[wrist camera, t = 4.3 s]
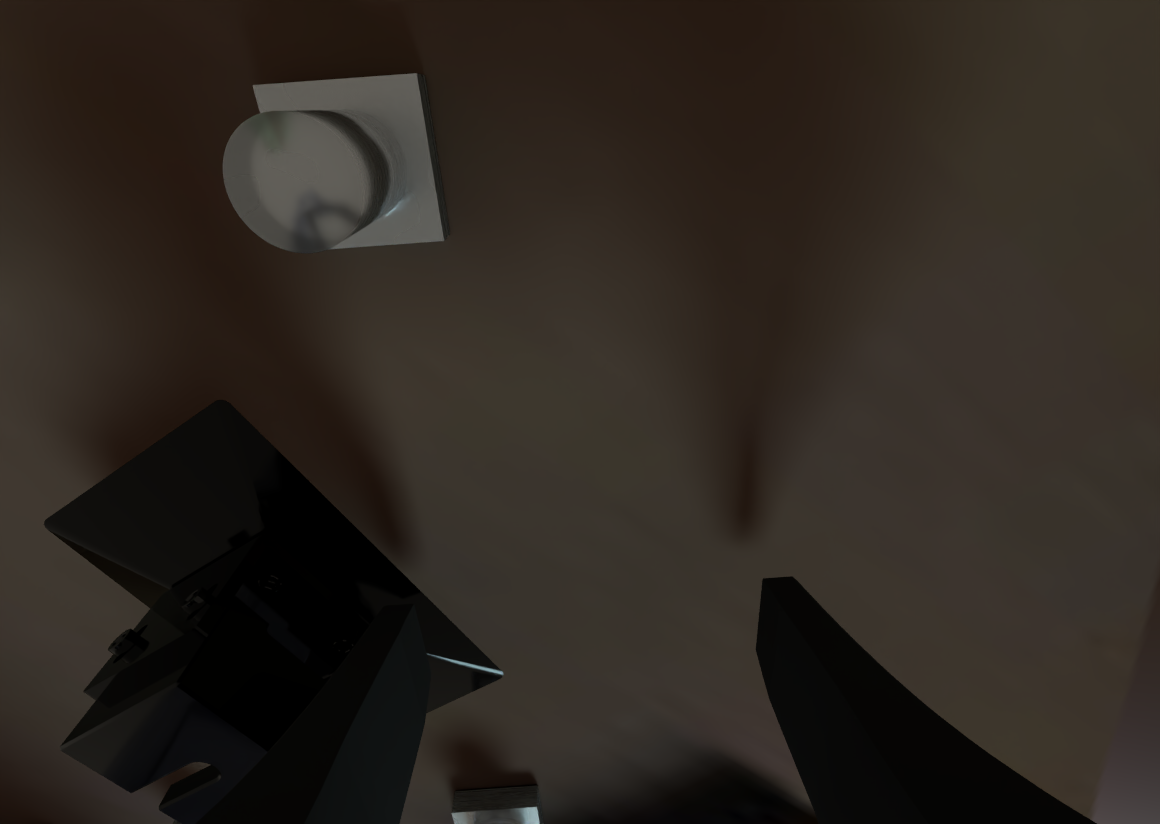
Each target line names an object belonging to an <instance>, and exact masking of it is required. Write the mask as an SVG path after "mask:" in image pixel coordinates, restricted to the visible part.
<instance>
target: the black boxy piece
mask: <svg viewBox="0 0 1160 824" xmlns="http://www.w3.org/2000/svg"><path fill="white" fill-rule="evenodd" d="M44 525H45V527H46V528H47V529H48V530H49V531H50V532H51V533H53V534H54V535H55V536H57V537H58V538H59V539H61V540H62V541H63V542H64V543H66V544H67V545H68V546H70V547H71V548H72V549H74V550H75V551H76V552H77V553H79V554H80V555H81V556H83V557H84V558H85V559H87V560H88V561H89V562H91V563H92V564H93V565H94V566H96V567H97V568H98V569H100V570H101V571H102V572H104V573H105V574H106V575H107V576H109V577H110V578H111V579H113V580H114V581H115V582H117V583H118V584H119V585H121V586H122V587H123V588H124V589H126V590H127V591H128V592H130V593H131V594H132V595H134V596H135V597H136V598H137V599H139V600H140V601H141V602H143V603H144V604H145V605H147V606H148V607H149V608H150V610H149V611H148V612H147V614H146V615H145V616H144V617H143V618H142V620H141V621H140V622H139V623H138V625H137V626H136V627H135V628H134V630H132V629H128V630H126V631H125V632H123V633H122V634H121V635H120V636H119V637H117V638H116V639H115V640H114V641H113V643H112V644H111V645H110V646H109V648H108V651H110V652H111V653H113V655H112V657H111V658H110V659H109V660H108V661H107V663H106V664H105V665H104V666H103V668H102V669H101V670H100V671H99V672H98V674H97V675H96V676H95V677H94V679H93V680H92V681H91V682H90V684H89V685H88V686H87V687H86V688H85V690H84V691H83V692H84V693H86V694H87V695H89V696H91V697H92V698H94V699H95V700H96V701H95V702H94V704H93V705H92V706H91V708H90V709H89V710H88V711H87V713H86V714H85V715H84V717H83V718H82V719H81V720H80V722H79V723H78V724H77V726H76V727H75V728H74V729H73V731H72V732H71V733H70V735H69V736H68V737H67V738H66V740H65V741H64V742H63V743H62V745H61V746H60V750H61V751H62V752H64V753H66V754H67V755H69V756H71V757H72V758H74V759H76V760H77V761H79V762H81V763H82V764H84V765H86V766H87V767H89V768H91V769H92V770H94V771H96V772H97V773H99V774H100V775H102V776H104V777H105V778H107V779H109V780H110V781H112V782H114V783H115V784H117V785H119V786H120V787H122V788H124V789H125V790H127V791H129V792H130V793H132V792H135V791H137V790H139V789H141V788H143V787H145V786H147V785H149V784H151V783H153V782H155V781H156V780H158V779H160V778H162V777H164V776H166V775H168V774H170V773H172V772H174V771H176V770H178V769H180V768H182V767H184V766H186V765H188V764H190V763H192V762H204V763H208V764H211V765H210V766H208V767H206V768H204V769H202V770H200V771H198V772H196V773H194V774H192V775H190V776H188V777H186V778H184V779H182V780H180V781H178V782H176V783H174V784H172V785H171V786H170V788H169V790H168V791H167V793H166V795H165V797H164V798H163V800H162V802H161V803H160V805H159V810H160V811H162V812H163V813H165V814H167V815H168V816H170V817H172V818H173V819H175V820H176V821H178V822H180V823H181V824H196V823H197V822H198V821H199V820H200V819H201V818H202V817H203V816H204V815H205V814H206V813H207V812H209V811H210V810H211V809H212V808H213V807H214V806H215V805H216V804H217V803H218V802H219V801H220V800H221V799H222V798H223V797H224V796H225V795H226V794H227V793H228V792H229V791H230V790H231V789H232V788H233V787H234V786H235V785H236V784H237V783H238V782H239V781H240V780H241V779H242V778H243V777H244V776H245V775H246V774H247V773H248V772H249V771H250V770H251V769H252V768H253V767H254V766H255V765H256V764H257V763H258V762H259V761H260V760H261V758H262V757H263V756H264V755H265V754H266V753H267V752H268V751H269V750H270V749H271V748H272V746H273V745H274V744H275V743H276V742H277V741H278V740H279V739H280V738H281V736H282V735H283V734H284V733H285V732H286V731H287V729H288V728H289V727H290V726H291V725H292V724H293V722H294V721H295V720H296V719H297V718H298V716H299V715H300V714H301V713H302V712H303V711H304V709H305V708H306V707H307V706H308V705H309V704H310V702H311V701H312V700H313V699H314V697H315V696H316V695H317V694H318V692H319V691H320V690H321V689H322V687H323V686H324V685H325V684H326V682H327V681H328V680H329V678H330V677H331V676H332V675H333V673H334V672H335V671H336V669H337V668H338V667H339V666H340V664H341V663H342V662H343V660H344V659H345V658H346V656H347V655H348V654H349V652H350V651H351V650H352V648H353V647H354V646H355V644H356V643H357V642H358V640H359V639H360V637H361V636H362V635H363V633H364V632H365V631H366V629H367V628H368V626H369V625H370V624H371V622H372V621H373V620H374V618H375V617H376V615H377V614H378V613H379V611H380V610H381V609H382V608H383V607H384V606H388V605H402V604H414V606H415V610H416V614H417V618H418V622H419V626H420V630H421V634H422V638H423V642H424V646H425V650H426V654H427V658H428V662H429V666H430V670H431V680H430V688H429V696H428V703H427V710H426V713H428V712H430V711H432V710H434V709H436V708H439V707H441V706H443V705H445V704H447V703H449V702H451V701H454V700H456V699H458V698H460V697H462V696H464V695H466V694H469V693H471V692H473V691H475V690H477V689H479V688H481V687H483V686H486V685H488V684H490V683H492V682H494V681H496V680H498V679H500V678H502V676H503V672H502V671H501V670H500V669H499V668H498V667H497V666H496V665H495V664H494V663H493V662H492V661H491V660H490V659H489V658H488V657H487V656H486V655H485V654H484V653H483V652H482V651H481V650H480V649H479V648H478V647H477V646H476V645H475V644H474V643H473V642H472V641H471V640H470V639H469V638H468V637H466V636H465V635H464V634H463V633H462V632H461V631H460V630H459V629H458V628H457V627H456V626H455V625H454V624H453V623H452V622H451V621H450V620H449V619H448V618H447V617H446V616H445V615H444V614H443V613H442V612H441V611H440V610H439V609H438V608H437V607H436V606H435V605H434V604H433V603H432V602H431V601H430V600H429V599H428V598H427V597H426V596H425V595H424V594H423V593H422V592H421V591H420V590H419V589H418V588H417V587H416V586H415V585H414V584H413V583H412V582H411V581H410V580H409V579H408V578H407V577H406V576H405V575H404V574H403V573H402V572H401V571H399V570H398V569H397V568H396V567H395V566H394V565H393V564H392V563H391V562H390V561H389V560H388V559H387V558H386V557H385V556H384V555H383V554H382V553H381V552H380V551H379V550H378V549H377V548H376V547H375V546H374V545H373V544H372V543H371V542H370V541H369V540H368V539H367V538H366V537H365V536H364V535H363V534H362V533H361V532H360V531H359V530H358V529H357V528H356V527H355V526H354V525H353V524H352V523H351V522H350V521H349V520H348V519H347V518H346V517H345V516H344V515H343V514H342V513H341V512H340V511H339V510H338V509H337V508H336V507H335V506H334V505H332V504H331V503H330V502H329V501H328V500H327V499H326V498H325V497H324V496H323V495H322V494H321V493H320V492H319V491H318V490H317V489H316V488H315V487H314V486H313V485H312V484H311V483H310V482H309V481H308V480H307V479H306V478H305V477H304V476H303V475H302V474H301V473H300V472H299V471H298V470H297V469H296V468H295V467H294V466H293V465H292V464H291V463H290V462H289V461H288V460H287V459H286V458H285V457H284V456H283V455H282V454H281V453H280V452H279V451H278V450H277V449H276V448H275V447H274V446H273V445H272V444H271V443H270V442H269V441H268V440H267V439H265V438H264V437H263V436H262V435H261V434H260V433H259V432H258V431H257V430H256V429H255V428H254V427H253V426H252V425H251V424H250V423H249V422H248V421H247V420H246V419H245V418H244V417H243V416H242V415H241V414H240V413H239V412H238V411H237V410H236V409H235V408H234V407H233V406H232V405H231V404H230V403H228V402H227V401H224V400H217V401H215V402H214V403H212V404H211V405H209V406H208V407H206V408H205V409H204V410H202V411H201V412H199V413H198V414H196V415H195V416H194V417H192V418H191V419H189V420H188V421H186V422H185V423H183V424H182V425H181V426H179V427H178V428H176V429H175V430H173V431H172V432H171V433H169V434H168V435H166V436H165V437H163V438H162V439H161V440H159V441H158V442H156V443H155V444H153V445H152V446H151V447H149V448H148V449H146V450H145V451H143V452H142V453H141V454H139V455H138V456H136V457H135V458H133V459H132V460H131V461H129V462H128V463H126V464H125V465H123V466H122V467H120V468H119V469H118V470H116V471H115V472H113V473H112V474H110V475H109V476H108V477H106V478H105V479H103V480H102V481H100V482H99V483H98V484H96V485H95V486H93V487H92V488H90V489H89V490H88V491H86V492H85V493H83V494H82V495H80V496H79V497H78V498H76V499H75V500H73V501H72V502H70V503H69V504H67V505H66V506H65V507H63V508H62V509H60V510H59V511H57V512H56V513H55V514H53V515H52V516H50V517H49V518H47V519H46V520H45V522H44Z"/></svg>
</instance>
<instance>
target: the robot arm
mask: <svg viewBox="0 0 1160 824" xmlns="http://www.w3.org/2000/svg"><path fill="white" fill-rule="evenodd" d="M756 652H757V656H758V660H759V663H760V667H761V671H762V675H763V678H764V682H765V685H766V689H767V692H768V696H769V699H770V702H771V704H772V707H773V709H774V712H775V714H776V717H777V719H778V722H779V725H780V727H781V730H782V732H783V735H784V737H785V740H786V742H787V744H788V747H789V749H790V752H791V754H792V757H793V759H794V762H795V764H796V767H797V769H798V772H799V774H800V777H801V779H802V782H803V784H804V786H805V789H806V791H807V794H808V796H809V799H810V801H811V804H812V806H813V809H814V811H815V814H816V817H817V819H818V822H819V824H1096V823H1095V822H1093V821H1092V820H1090V819H1088V818H1087V817H1085V816H1083V815H1082V814H1080V813H1078V812H1077V811H1075V810H1073V809H1072V808H1070V807H1068V806H1067V805H1065V804H1064V803H1062V802H1061V801H1059V800H1057V799H1056V798H1054V797H1053V796H1051V795H1050V794H1048V793H1046V792H1045V791H1043V790H1042V789H1040V788H1039V787H1037V786H1036V785H1034V784H1033V783H1031V782H1030V781H1028V780H1027V779H1026V778H1024V777H1023V776H1021V775H1020V774H1018V773H1017V772H1015V771H1014V770H1012V769H1011V768H1009V767H1008V766H1006V765H1005V764H1003V763H1002V762H1001V761H999V760H998V759H996V758H995V757H993V756H992V755H990V754H989V753H988V752H986V751H985V750H983V749H982V748H981V747H979V746H978V745H977V744H975V743H974V742H972V741H971V740H970V739H968V738H967V737H966V736H965V735H963V734H962V733H961V732H959V731H958V730H957V729H955V728H954V727H953V726H952V725H950V724H949V723H948V722H946V721H945V720H944V719H943V718H941V717H940V716H939V715H938V714H936V713H935V712H934V711H933V710H931V709H930V708H929V707H928V706H927V705H925V704H924V703H923V702H922V701H921V700H919V699H918V698H917V697H916V696H915V695H914V694H912V693H911V692H910V691H909V690H908V689H907V688H906V687H904V686H903V685H902V684H901V683H900V682H899V681H898V680H896V679H895V678H894V677H893V676H892V675H891V674H890V673H889V672H888V671H887V670H885V669H884V668H883V667H882V666H881V665H880V664H879V663H878V662H877V661H876V660H875V659H874V658H873V657H872V656H871V655H869V654H868V653H867V652H866V651H865V650H864V649H863V648H862V647H861V646H860V645H859V644H858V643H857V642H856V641H855V640H854V639H853V638H852V637H851V636H850V635H849V634H848V633H847V632H846V631H845V630H844V629H843V628H842V627H841V626H840V625H839V624H838V623H837V622H836V621H835V620H834V619H833V618H832V617H831V616H830V615H829V614H828V613H827V612H826V611H825V610H824V609H823V608H822V607H821V606H820V604H819V603H818V602H817V601H816V600H815V599H814V598H813V597H812V596H811V595H810V594H809V593H808V592H807V591H806V590H805V589H804V588H803V586H802V585H801V584H800V583H799V582H798V581H797V580H796V579H795V578H793V577H778V578H764V579H763V581H762V591H761V601H760V612H759V622H758V633H757V643H756ZM430 680H431V670H430V666H429V662H428V658H427V654H426V650H425V646H424V642H423V638H422V634H421V630H420V626H419V622H418V618H417V614H416V610H415V606H414V604H402V605H388V606H384V607H383V608H382V609H381V610H380V611H379V613H378V614H377V615H376V617H375V618H374V620H373V621H372V622H371V624H370V625H369V626H368V628H367V629H366V631H365V632H364V633H363V635H362V636H361V637H360V639H359V640H358V642H357V643H356V644H355V646H354V647H353V648H352V650H351V651H350V652H349V654H348V655H347V656H346V658H345V659H344V660H343V662H342V663H341V664H340V666H339V667H338V668H337V669H336V671H335V672H334V673H333V675H332V676H331V677H330V678H329V680H328V681H327V682H326V684H325V685H324V686H323V687H322V689H321V690H320V691H319V692H318V694H317V695H316V696H315V697H314V699H313V700H312V701H311V702H310V704H309V705H308V706H307V707H306V708H305V709H304V711H303V712H302V713H301V714H300V715H299V716H298V718H297V719H296V720H295V721H294V722H293V724H292V725H291V726H290V727H289V728H288V729H287V731H286V732H285V733H284V734H283V735H282V736H281V738H280V739H279V740H278V741H277V742H276V743H275V744H274V745H273V746H272V748H271V749H270V750H269V751H268V752H267V753H266V754H265V755H264V756H263V757H262V758H261V760H260V761H259V762H258V763H257V764H256V765H255V766H254V767H253V768H252V769H251V770H250V771H249V772H248V773H247V774H246V775H245V776H244V777H243V778H242V779H241V780H240V781H239V782H238V783H237V784H236V785H235V786H234V787H233V788H232V789H231V790H230V791H229V792H228V793H227V794H226V795H225V796H224V797H223V798H222V799H221V800H220V801H219V802H218V803H217V804H216V805H215V806H214V807H213V808H212V809H211V810H210V811H209V812H207V813H206V814H205V815H204V816H203V817H202V818H201V819H200V820H199V821H198V822H197V823H196V824H399V823H400V819H401V815H402V811H403V807H404V803H405V799H406V795H407V791H408V788H409V784H410V780H411V776H412V772H413V768H414V764H415V760H416V756H417V752H418V748H419V744H420V740H421V736H422V732H423V728H424V724H425V717H426V710H427V703H428V696H429V688H430Z"/></svg>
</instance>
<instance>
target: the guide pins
mask: <svg viewBox="0 0 1160 824" xmlns="http://www.w3.org/2000/svg"><path fill="white" fill-rule="evenodd" d="M253 89H254V93H255V96H256V100H257V104H258V107H259V111H260V114H257V115H255V116H253V117H251V118H249V119H247V120H246V121H244V122H243V123H242V124H241V125H240V126H239V127H238V128H237V129H236V130H235V131H234V133H233V134H232V135H231V137H230V139H229V141H228V143H227V145H226V149H225V152H224V158H223V178H224V183H225V187H226V191H227V194H228V196H229V199H230V201H231V203H232V205H233V207H234V209H235V210H236V212H237V214H238V215H239V217H240V218H241V219H242V220H243V222H244V223H245V224H246V225H247V226H248V227H249V228H250V229H251V230H252V231H253V232H254V233H255V234H257V235H258V236H259V237H260V238H262V239H263V240H265V241H266V242H268V243H270V244H272V245H274V246H276V247H278V248H281V249H284V250H287V251H291V252H296V253H316V252H321V251H325V250H328V249H339V248H353V247H366V246H380V245H394V244H408V243H421V242H435V241H444V240H445V239H446V238H447V237H448V236H449V234H450V231H449V225H448V218H447V212H446V206H445V199H444V193H443V187H442V181H441V174H440V168H439V162H438V155H437V149H436V143H435V136H434V130H433V124H432V118H431V111H430V105H429V99H428V92H427V86H426V80H425V75H422V74H418V73H413V74H399V75H385V76H372V77H358V78H344V79H331V80H317V81H303V82H290V83H276V84H262V85H253ZM452 816H453V820H454V824H544V823H543V816H542V810H541V804H540V798H539V791H538V785H537V786H523V787H509V788H496V789H482V790H468V791H455V794H454V800H453V807H452ZM173 824H181V823H180V822H178V821H176V820H174V822H173Z"/></svg>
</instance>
